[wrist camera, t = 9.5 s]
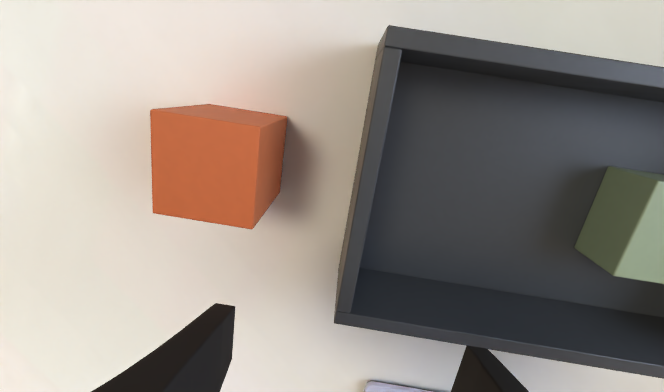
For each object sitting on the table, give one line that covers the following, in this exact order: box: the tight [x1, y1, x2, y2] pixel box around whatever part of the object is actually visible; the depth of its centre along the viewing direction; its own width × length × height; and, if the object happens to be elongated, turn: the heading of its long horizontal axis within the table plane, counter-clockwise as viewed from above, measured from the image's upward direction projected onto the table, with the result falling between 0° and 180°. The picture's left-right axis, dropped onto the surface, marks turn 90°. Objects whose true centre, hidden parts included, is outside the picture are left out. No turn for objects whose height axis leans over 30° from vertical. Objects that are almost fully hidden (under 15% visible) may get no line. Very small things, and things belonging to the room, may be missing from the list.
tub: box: [334, 25, 664, 378], centre depth 16 cm, size 13×20×5 cm, turn 81°
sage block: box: [574, 166, 664, 284], centre depth 16 cm, size 5×5×3 cm
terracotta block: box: [150, 104, 287, 229], centre depth 16 cm, size 4×4×5 cm
